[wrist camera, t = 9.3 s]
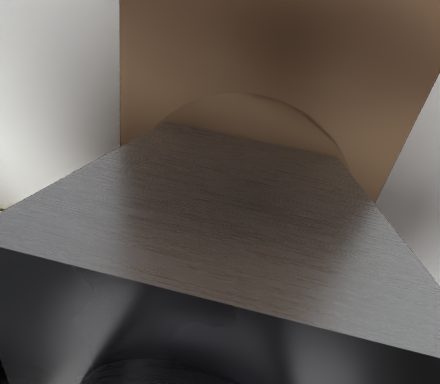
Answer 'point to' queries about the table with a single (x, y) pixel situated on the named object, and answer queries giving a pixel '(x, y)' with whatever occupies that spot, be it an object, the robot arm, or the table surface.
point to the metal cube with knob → (211, 272)
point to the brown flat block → (283, 73)
